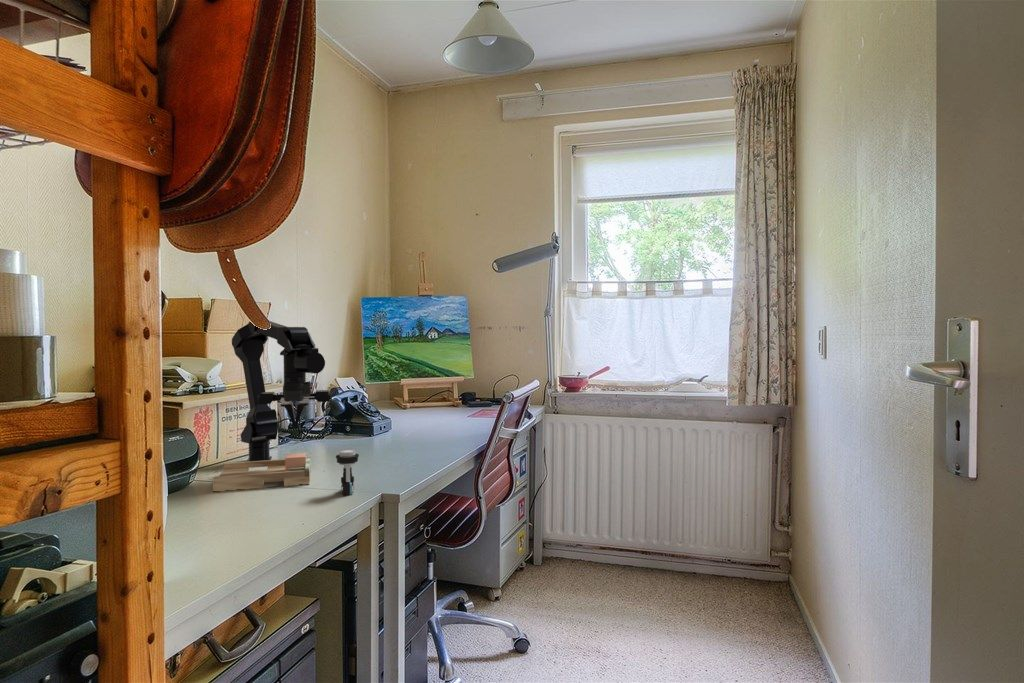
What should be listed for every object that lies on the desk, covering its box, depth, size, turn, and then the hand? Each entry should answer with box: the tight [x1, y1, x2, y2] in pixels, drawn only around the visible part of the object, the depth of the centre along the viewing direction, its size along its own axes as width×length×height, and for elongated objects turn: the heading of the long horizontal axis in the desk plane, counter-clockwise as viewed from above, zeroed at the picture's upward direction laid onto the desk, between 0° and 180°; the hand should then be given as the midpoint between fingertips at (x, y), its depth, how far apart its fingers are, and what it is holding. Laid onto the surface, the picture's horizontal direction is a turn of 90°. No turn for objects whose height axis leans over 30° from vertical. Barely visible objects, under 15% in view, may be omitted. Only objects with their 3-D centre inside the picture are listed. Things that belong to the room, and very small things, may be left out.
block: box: [284, 452, 307, 471], centre depth 153 cm, size 5×5×4 cm
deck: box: [212, 455, 312, 492], centre depth 151 cm, size 16×22×4 cm
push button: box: [335, 449, 360, 496], centre depth 140 cm, size 7×5×10 cm
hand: (295, 428), depth 160 cm, fingers closed
